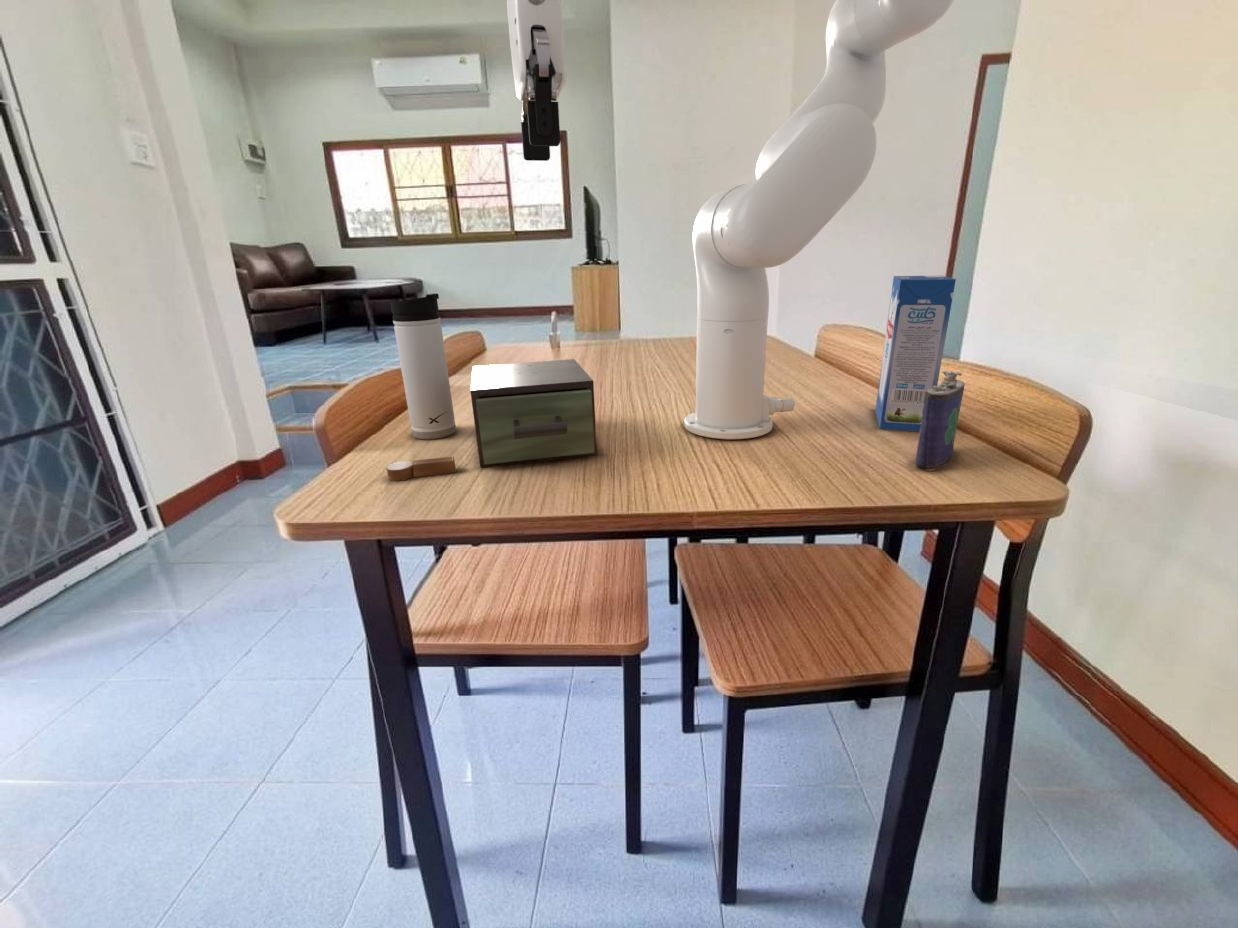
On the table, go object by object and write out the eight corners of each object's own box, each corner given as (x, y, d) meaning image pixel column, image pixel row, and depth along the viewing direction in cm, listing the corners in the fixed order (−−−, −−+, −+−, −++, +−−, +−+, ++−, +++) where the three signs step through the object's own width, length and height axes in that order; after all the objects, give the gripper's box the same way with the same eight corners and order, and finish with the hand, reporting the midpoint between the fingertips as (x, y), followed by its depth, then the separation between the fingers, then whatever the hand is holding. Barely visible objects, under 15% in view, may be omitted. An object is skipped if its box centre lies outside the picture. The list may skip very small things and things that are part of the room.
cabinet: (597, 455, 72) (593, 380, 69) (480, 467, 69) (470, 390, 66) (578, 422, 87) (574, 359, 83) (480, 431, 84) (472, 366, 80)
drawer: (602, 466, 66) (599, 401, 63) (484, 479, 63) (475, 411, 60) (576, 421, 84) (573, 369, 81) (484, 430, 81) (477, 376, 78)
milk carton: (875, 410, 88) (893, 276, 80) (919, 413, 86) (942, 275, 78) (879, 428, 79) (900, 279, 72) (929, 432, 77) (956, 279, 70)
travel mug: (445, 440, 80) (424, 295, 73) (404, 439, 81) (378, 296, 74) (465, 427, 86) (447, 292, 79) (426, 426, 87) (404, 293, 80)
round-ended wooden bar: (455, 466, 70) (454, 454, 70) (454, 474, 67) (452, 462, 67) (390, 473, 69) (388, 461, 68) (386, 482, 66) (384, 469, 65)
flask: (932, 446, 71) (947, 363, 67) (958, 451, 69) (975, 365, 65) (909, 468, 65) (924, 376, 61) (937, 473, 63) (955, 380, 59)
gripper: (577, -76, 51) (585, 139, 57) (555, 3, 66) (563, 165, 72) (493, -84, 49) (510, 138, 55) (491, -1, 65) (504, 164, 71)
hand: (540, 153), depth 64 cm, fingers open, 9 cm apart
